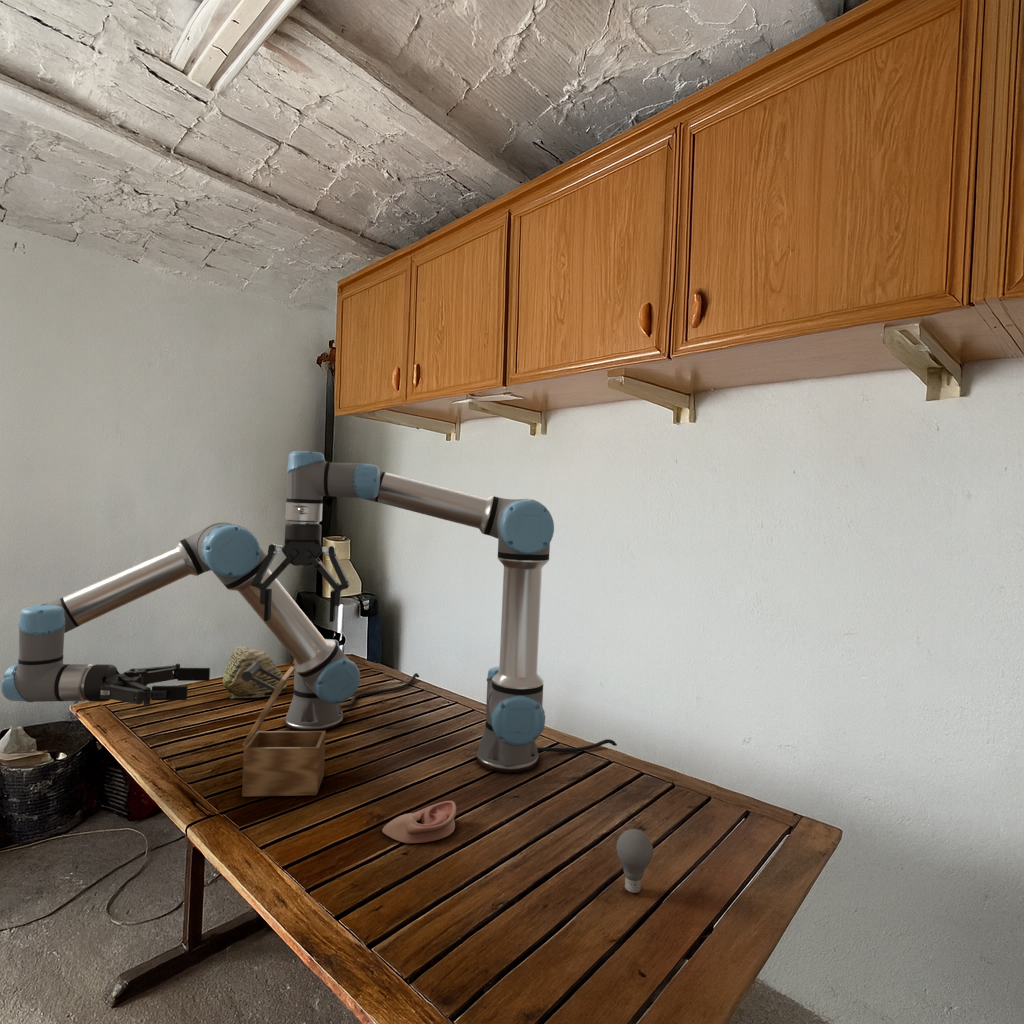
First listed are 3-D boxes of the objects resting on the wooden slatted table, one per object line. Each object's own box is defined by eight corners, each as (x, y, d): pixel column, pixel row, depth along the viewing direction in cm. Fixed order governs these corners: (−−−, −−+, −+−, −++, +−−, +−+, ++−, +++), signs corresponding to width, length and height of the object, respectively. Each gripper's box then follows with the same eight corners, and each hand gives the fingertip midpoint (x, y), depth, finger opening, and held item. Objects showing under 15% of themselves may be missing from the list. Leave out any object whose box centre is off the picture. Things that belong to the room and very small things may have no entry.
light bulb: (610, 879, 108) (613, 822, 108) (644, 879, 109) (647, 822, 109) (619, 902, 102) (622, 840, 102) (655, 901, 103) (658, 840, 103)
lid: (294, 667, 143) (261, 650, 142) (285, 680, 133) (248, 661, 132) (258, 729, 142) (224, 712, 141) (245, 747, 132) (208, 728, 131)
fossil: (218, 695, 195) (220, 647, 195) (278, 685, 208) (279, 640, 207) (228, 703, 189) (230, 653, 188) (289, 692, 201) (290, 645, 201)
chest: (324, 774, 144) (325, 730, 144) (316, 795, 134) (318, 748, 134) (254, 775, 142) (256, 731, 142) (241, 796, 132) (243, 748, 132)
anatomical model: (376, 817, 118) (399, 790, 129) (375, 838, 118) (398, 809, 129) (444, 828, 115) (461, 799, 127) (443, 849, 115) (461, 819, 127)
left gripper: (119, 683, 145) (216, 683, 148) (56, 721, 120) (175, 721, 123) (120, 650, 145) (217, 651, 148) (57, 682, 120) (176, 682, 123)
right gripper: (238, 521, 132) (234, 622, 132) (360, 525, 135) (356, 624, 136) (248, 519, 139) (244, 615, 140) (363, 524, 143) (360, 617, 143)
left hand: (198, 683), depth 135 cm, fingers open, 13 cm apart
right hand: (299, 620), depth 138 cm, fingers open, 13 cm apart
